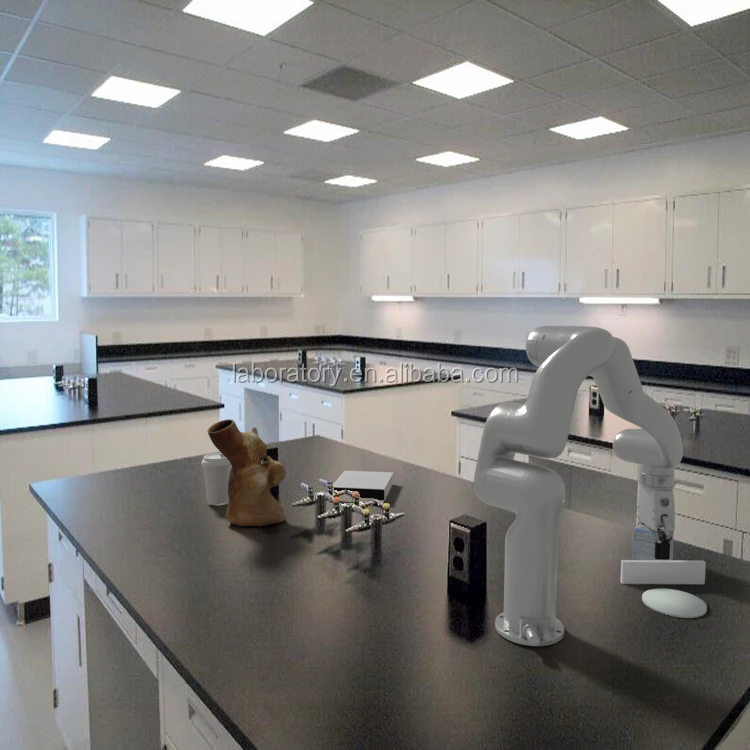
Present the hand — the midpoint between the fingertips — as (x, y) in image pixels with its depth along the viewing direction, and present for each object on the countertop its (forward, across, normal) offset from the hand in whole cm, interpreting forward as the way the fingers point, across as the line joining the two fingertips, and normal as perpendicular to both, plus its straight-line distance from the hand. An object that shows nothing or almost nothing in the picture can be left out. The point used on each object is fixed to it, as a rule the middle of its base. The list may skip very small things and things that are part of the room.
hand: (653, 551), depth 150 cm
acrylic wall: (+3, -10, +2) cm, 11 cm away
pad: (+3, -20, +4) cm, 21 cm away
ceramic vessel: (+3, +29, +102) cm, 106 cm away
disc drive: (+4, +59, +70) cm, 92 cm away
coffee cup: (+3, +47, +115) cm, 124 cm away
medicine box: (+4, 0, 0) cm, 4 cm away
